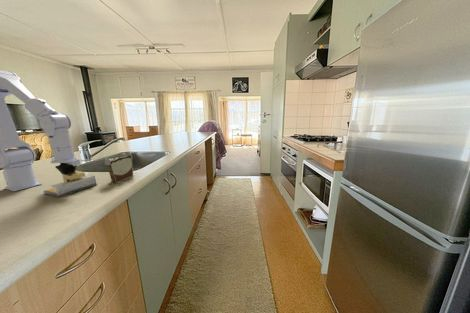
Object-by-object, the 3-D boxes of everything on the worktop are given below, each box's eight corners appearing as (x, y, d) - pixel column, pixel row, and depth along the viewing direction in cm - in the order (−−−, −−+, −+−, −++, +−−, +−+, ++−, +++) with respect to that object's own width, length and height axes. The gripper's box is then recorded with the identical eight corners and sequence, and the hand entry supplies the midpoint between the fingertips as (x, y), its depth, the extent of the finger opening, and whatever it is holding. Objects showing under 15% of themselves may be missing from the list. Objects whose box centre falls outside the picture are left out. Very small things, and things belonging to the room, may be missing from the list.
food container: (124, 174, 86) (120, 153, 83) (135, 174, 84) (132, 153, 82) (100, 183, 74) (95, 160, 72) (113, 184, 73) (108, 160, 70)
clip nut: (65, 186, 68) (62, 174, 67) (78, 182, 72) (76, 170, 71) (72, 188, 67) (70, 176, 65) (86, 184, 71) (84, 172, 69)
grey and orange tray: (44, 193, 66) (41, 183, 65) (81, 182, 77) (79, 173, 76) (59, 197, 62) (56, 186, 61) (96, 184, 73) (94, 175, 72)
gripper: (37, 148, 67) (47, 183, 70) (59, 150, 61) (68, 188, 64) (61, 145, 73) (69, 177, 76) (83, 146, 67) (90, 181, 70)
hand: (70, 181), depth 70 cm, fingers closed, pressing on clip nut
